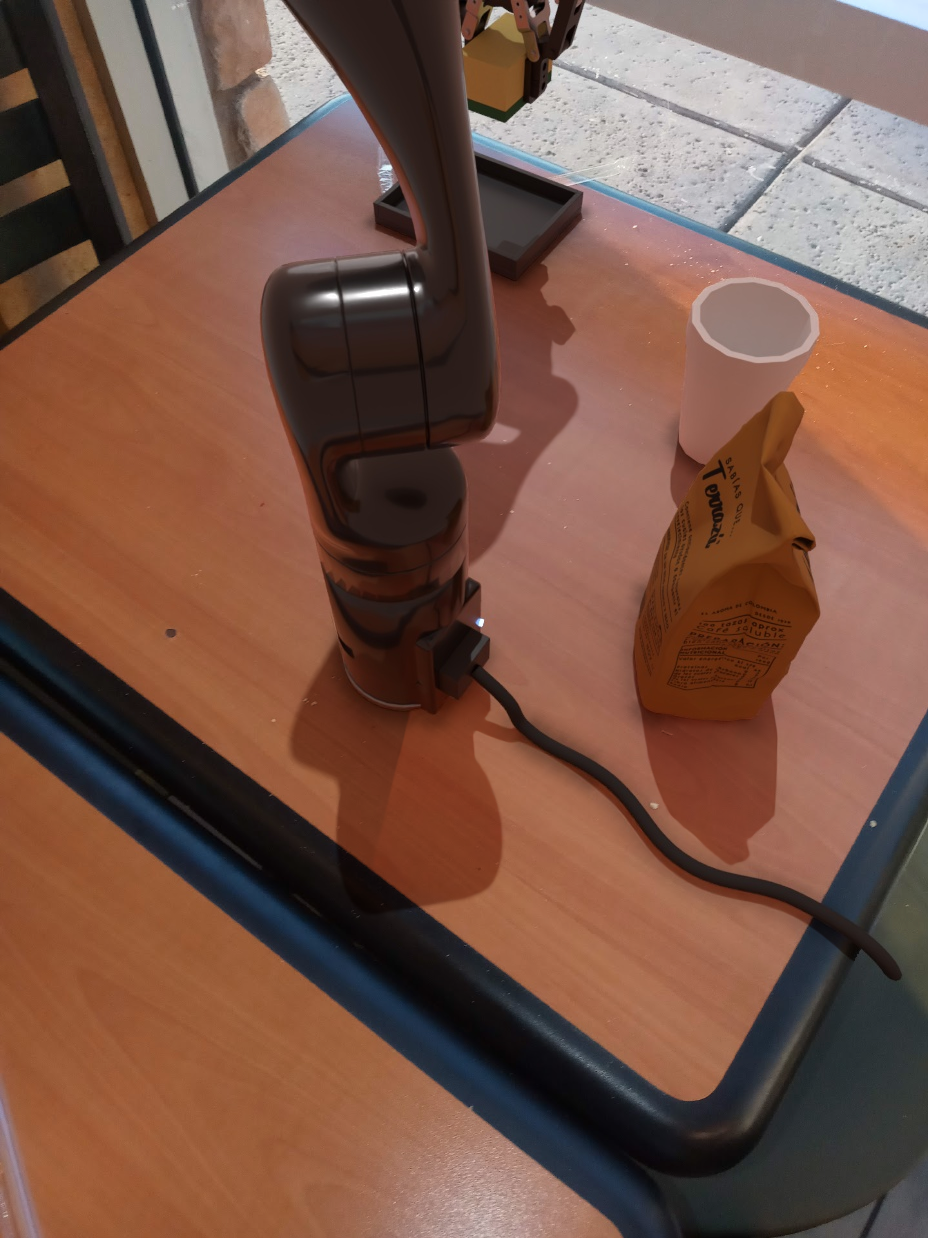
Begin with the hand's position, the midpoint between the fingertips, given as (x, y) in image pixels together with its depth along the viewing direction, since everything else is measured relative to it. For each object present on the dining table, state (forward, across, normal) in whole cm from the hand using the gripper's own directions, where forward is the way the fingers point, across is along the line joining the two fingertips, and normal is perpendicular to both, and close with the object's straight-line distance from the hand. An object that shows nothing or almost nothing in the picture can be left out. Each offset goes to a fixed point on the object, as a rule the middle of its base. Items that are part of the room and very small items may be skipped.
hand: (505, 88), depth 81 cm
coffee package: (+15, +38, -34) cm, 53 cm away
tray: (+15, -4, +1) cm, 15 cm away
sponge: (0, 0, 0) cm, 0 cm away
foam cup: (+15, +30, -14) cm, 37 cm away
